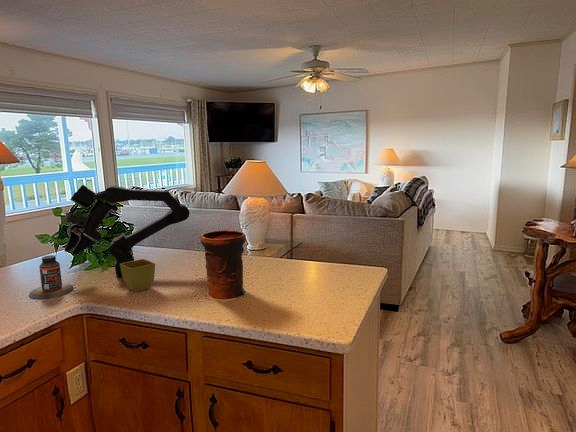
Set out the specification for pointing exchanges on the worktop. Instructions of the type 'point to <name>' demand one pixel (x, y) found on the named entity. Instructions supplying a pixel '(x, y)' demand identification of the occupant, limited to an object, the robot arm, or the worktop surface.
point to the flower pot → (138, 274)
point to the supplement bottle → (50, 274)
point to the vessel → (224, 264)
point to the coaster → (51, 292)
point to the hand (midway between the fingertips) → (69, 252)
